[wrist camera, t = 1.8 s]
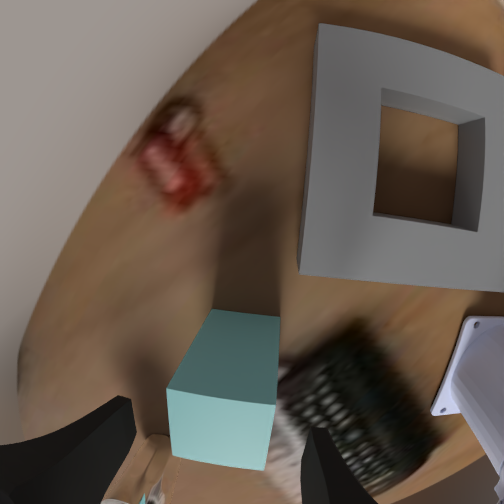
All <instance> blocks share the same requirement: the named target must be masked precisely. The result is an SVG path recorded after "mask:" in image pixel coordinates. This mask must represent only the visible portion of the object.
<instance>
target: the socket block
mask: <svg viewBox="0 0 504 504" xmlns="http://www.w3.org/2000/svg"><path fill="white" fill-rule="evenodd" d="M381 105H383V106H387V107H392V108H397V109H401V110H406V111H410V112H414V113H418V114H422V115H426V116H430V117H433V118H437V119H441V120H444V121H448V122H451V123H454V124H458V125H459V133H458V161H457V176H456V188H455V198H454V206H453V214H452V222H451V224H446V223H441V222H435V221H429V220H422V219H416V218H410V217H403V216H396V215H389V214H382V213H375V212H373V207H374V198H375V189H376V179H377V167H378V154H379V139H380V119H381ZM297 264H298V271H299V274H301V275H311V276H321V277H331V278H341V279H352V280H362V281H373V282H384V283H395V284H406V285H418V286H429V287H441V288H454V289H466V290H479V291H492V292H504V76H502V75H500V74H498V73H496V72H494V71H492V70H489V69H487V68H485V67H482V66H480V65H478V64H475V63H473V62H470V61H468V60H465V59H463V58H460V57H457V56H455V55H452V54H449V53H446V52H443V51H440V50H437V49H434V48H431V47H428V46H425V45H422V44H418V43H415V42H411V41H408V40H404V39H400V38H396V37H392V36H388V35H384V34H379V33H375V32H370V31H365V30H360V29H355V28H349V27H343V26H337V25H330V24H323V23H319V25H318V30H317V35H316V40H315V45H314V60H313V80H312V96H311V112H310V126H309V139H308V152H307V163H306V175H305V185H304V196H303V206H302V216H301V225H300V234H299V243H298V252H297Z"/></svg>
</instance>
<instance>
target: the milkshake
mask: <svg viewBox="0 0 504 504" xmlns="http://www.w3.org/2000/svg"><path fill="white" fill-rule="evenodd" d="M181 462H182V457H177V456H173V455H172V447H171V438H170V437H168V436H166V435H161V434H152V435H151V436H149V437H148V438H146V439H145V441H144V442H143V444H142V445H141V447H140V448H139V450H138V451H137V453H136V454H135V456H134V457H133V459H132V460H131V462H130V463H129V465H128V466H127V467H126V469H125V470H124V472H123V473H122V475H121V476H120V478H119V479H118V481H117V482H116V483H115V485H114V486H113V487H112V489H111V490H110V491H109V493H108V494H107V495H106V497H105V498H104V499H103V501H102V502H101V504H171V499H172V496H173V492H174V488H175V484H176V481H177V477H178V473H179V469H180V466H181Z"/></svg>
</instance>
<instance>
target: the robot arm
mask: <svg viewBox="0 0 504 504" xmlns="http://www.w3.org/2000/svg"><path fill="white" fill-rule="evenodd" d="M475 322H477V323H476V325H475V326H474V324H475ZM442 408H443V409H442ZM441 409H442V410H441ZM430 411H431V413H432V415H434V416H437V415H446V414H455V413H462V415H463V416H464V418H465V420H466V421H467V423H468V424H469V426H470V428H471V429H472V431H473V432H474V434H475V436H476V437H477V439H478V441H479V442H480V444H481V446H482V447H483V449H484V451H485V452H486V454H487V455H488V457H489V459H490V461H491V462H492V464H493V466H494V468H495V469H496V471H497V473H498V475H499V476H500V480H499V482H498V484H497V485H496V486H495V488H494V489H495V491H496V492H497V495H498V497H499V499H500V500H499V501H498V503H497V504H504V317H502V316H468V317H467V318H466V319H465V320H464V322H463V325H462V328H461V332H460V335H459V338H458V341H457V344H456V347H455V350H454V353H453V355H452V358H451V361H450V364H449V366H448V369H447V371H446V374H445V377H444V379H443V382H442V384H441V386H440V389H439V391H438V394H437V396H436V398H435V401H434V403H433V405H432V407H431V410H430ZM136 433H137V431H136V426H135V420H134V414H133V408H132V402H131V399H129V398H126V397H122V396H119V395H118V396H116V397H115V398H113V399H111V400H110V401H108V402H107V403H105V404H104V405H102V406H100V407H99V408H97V409H96V410H94V411H92V412H91V413H89V414H87V415H86V416H84V417H82V418H81V419H79V420H77V421H75V422H73V423H71V424H69V425H67V426H66V427H64V428H61V429H59V430H57V431H55V432H52V433H50V434H47V435H44V436H41V437H38V438H35V439H31V440H27V441H24V442H20V443H14V444H9V445H0V504H101V501H102V499H103V497H104V494H105V492H106V490H107V489H108V487H109V485H110V483H111V482H112V480H113V478H114V477H115V475H116V473H117V472H118V470H119V468H120V466H121V465H122V463H123V461H124V460H125V458H126V456H127V454H128V453H129V451H130V448H131V446H132V444H133V441H134V438H135V436H136ZM300 481H301V494H302V504H378V503H377V502H376V501H375V500H374V499H373V498H372V497H371V496H370V495H369V494H368V492H367V491H366V490H365V489H364V488H363V486H362V485H361V484H360V483H359V481H358V480H357V479H356V477H355V476H354V474H353V473H352V472H351V470H350V469H349V467H348V465H347V464H346V462H345V461H344V459H343V457H342V456H341V454H340V452H339V451H338V449H337V447H336V445H335V443H334V441H333V439H332V437H331V435H330V433H329V431H328V429H327V428H318V427H311V428H310V431H309V435H308V439H307V442H306V445H305V449H304V452H303V456H302V459H301V480H300Z"/></svg>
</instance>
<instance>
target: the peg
mask: <svg viewBox="0 0 504 504" xmlns="http://www.w3.org/2000/svg"><path fill="white" fill-rule="evenodd" d="M279 337H280V317H276V316H266V315H258V314H249V313H240V312H232V311H224V310H217V309H211V311H210V313H209V314H208V316H207V318H206V320H205V321H204V323H203V325H202V327H201V328H200V330H199V332H198V334H197V335H196V337H195V339H194V341H193V342H192V344H191V346H190V348H189V349H188V351H187V353H186V355H185V356H184V358H183V360H182V362H181V363H180V365H179V367H178V369H177V370H176V372H175V374H174V376H173V377H172V379H171V381H170V383H169V384H168V386H167V388H166V391H167V405H168V417H169V427H170V437H171V447H172V455H173V456H177V457H182V458H186V459H191V460H196V461H201V462H206V463H212V464H218V465H224V466H230V467H237V468H245V469H253V470H263V471H264V467H265V462H266V457H267V452H268V446H269V441H270V435H271V430H272V424H273V419H274V413H275V407H276V394H277V377H278V358H279Z"/></svg>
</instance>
